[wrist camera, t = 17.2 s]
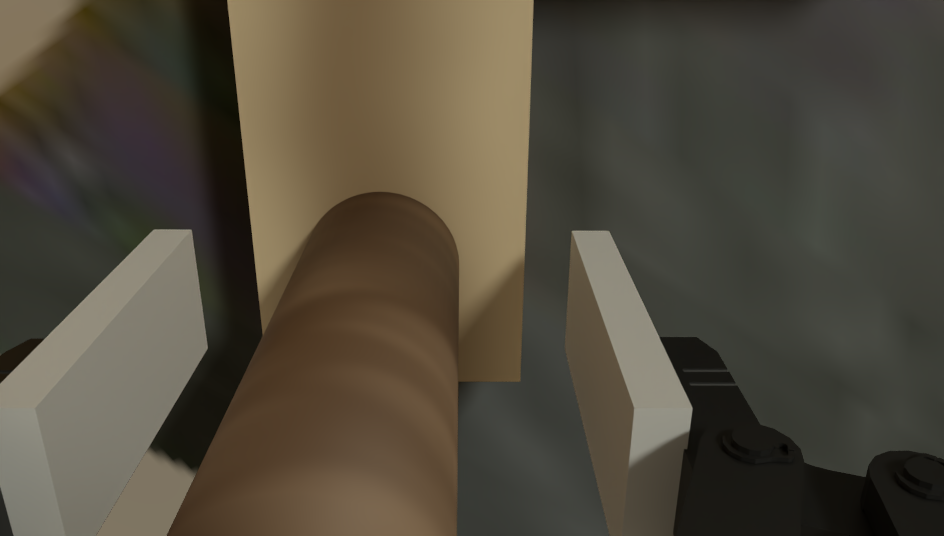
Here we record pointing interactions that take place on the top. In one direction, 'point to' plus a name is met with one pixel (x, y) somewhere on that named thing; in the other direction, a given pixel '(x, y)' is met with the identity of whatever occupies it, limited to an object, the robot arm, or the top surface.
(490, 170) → the batten
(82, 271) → the top surface
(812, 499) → the robot arm
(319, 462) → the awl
